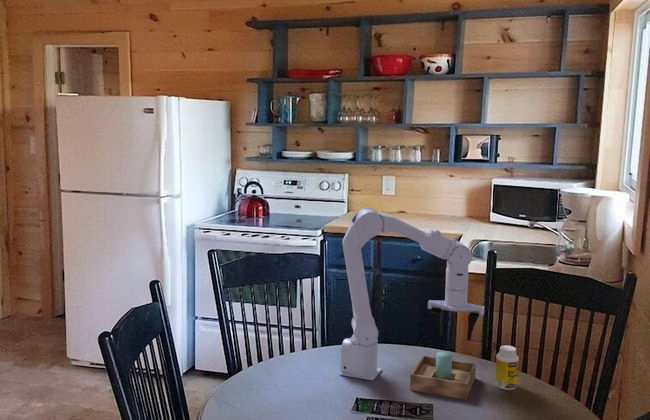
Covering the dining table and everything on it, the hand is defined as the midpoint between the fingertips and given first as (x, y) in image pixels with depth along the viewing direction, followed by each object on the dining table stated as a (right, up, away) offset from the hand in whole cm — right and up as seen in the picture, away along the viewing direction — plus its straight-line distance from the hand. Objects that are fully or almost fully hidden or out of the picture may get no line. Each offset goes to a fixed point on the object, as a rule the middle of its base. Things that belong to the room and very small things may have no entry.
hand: (454, 337), depth 158 cm
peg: (-4, -11, -6) cm, 13 cm away
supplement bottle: (+12, -11, -7) cm, 18 cm away
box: (-4, -11, -6) cm, 13 cm away
